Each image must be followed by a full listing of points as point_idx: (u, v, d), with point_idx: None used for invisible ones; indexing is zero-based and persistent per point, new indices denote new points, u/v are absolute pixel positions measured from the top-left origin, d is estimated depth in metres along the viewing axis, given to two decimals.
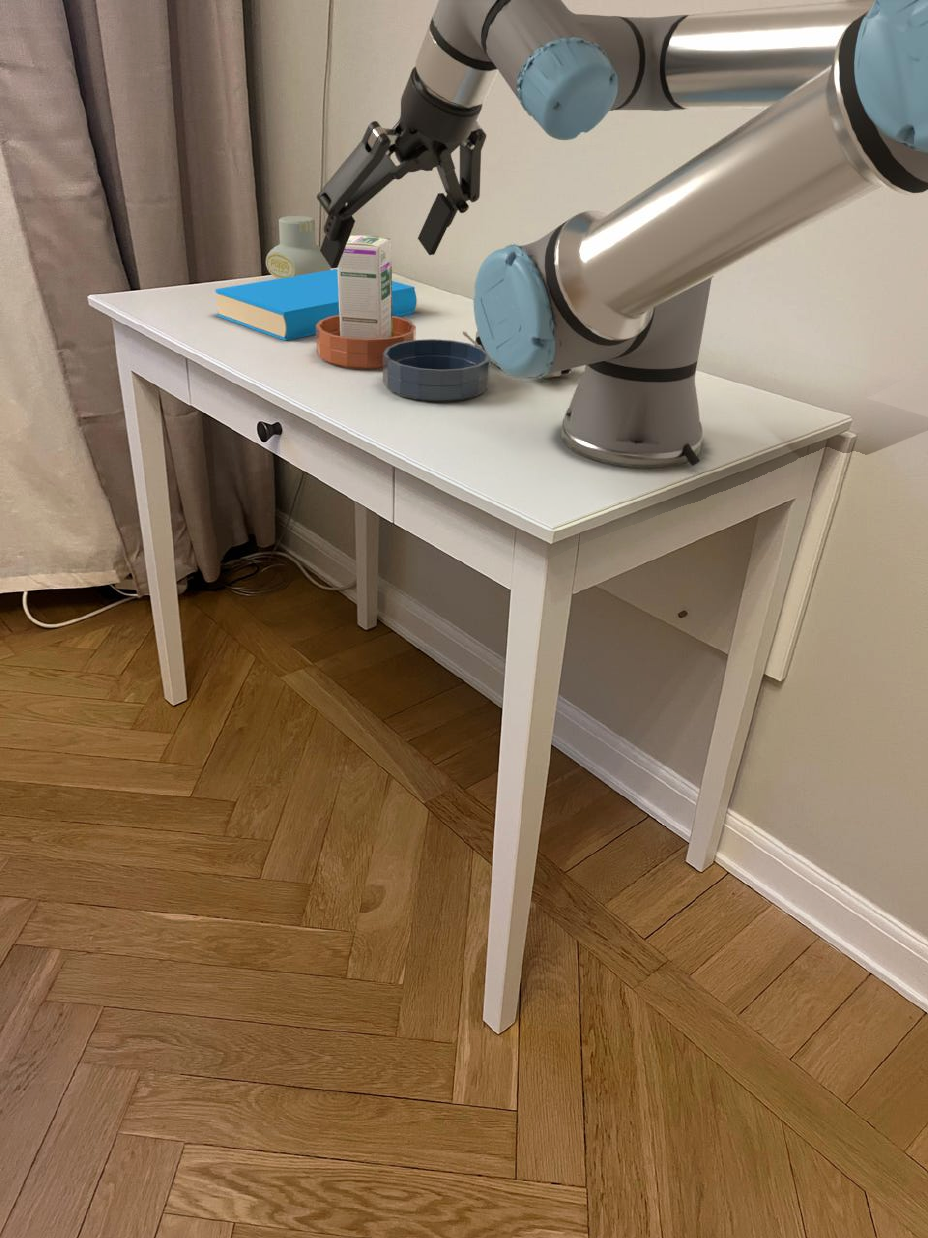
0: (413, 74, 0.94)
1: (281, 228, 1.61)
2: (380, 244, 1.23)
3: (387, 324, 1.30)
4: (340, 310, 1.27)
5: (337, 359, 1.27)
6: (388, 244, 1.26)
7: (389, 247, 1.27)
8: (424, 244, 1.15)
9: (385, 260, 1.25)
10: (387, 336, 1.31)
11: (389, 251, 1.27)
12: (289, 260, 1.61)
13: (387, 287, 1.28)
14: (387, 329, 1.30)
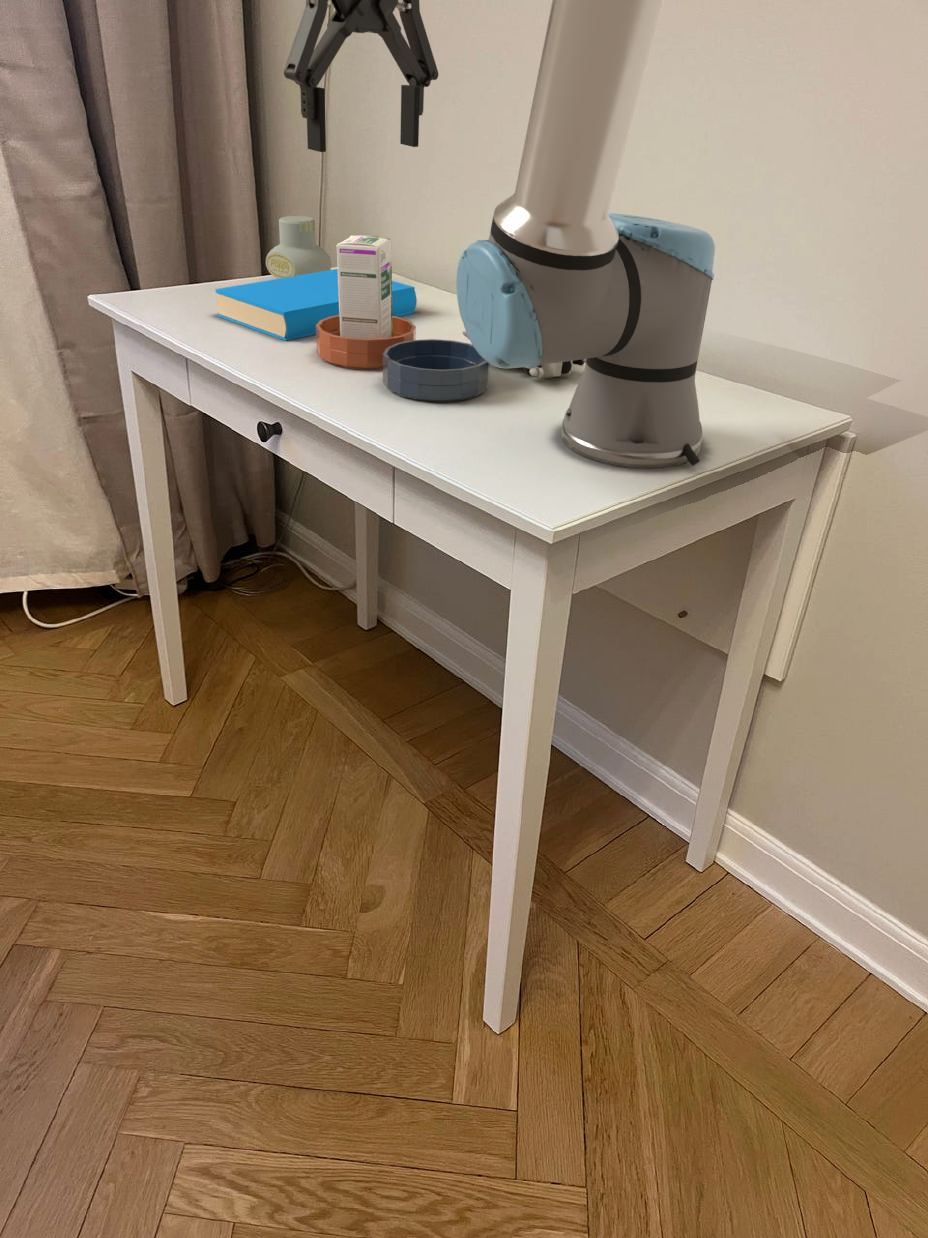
0: None
1: (281, 228, 1.61)
2: (380, 244, 1.23)
3: (387, 324, 1.30)
4: (340, 310, 1.27)
5: (337, 359, 1.27)
6: (388, 244, 1.26)
7: (389, 247, 1.27)
8: (407, 142, 1.22)
9: (385, 260, 1.25)
10: (387, 336, 1.31)
11: (389, 251, 1.27)
12: (289, 260, 1.61)
13: (387, 287, 1.28)
14: (387, 329, 1.30)
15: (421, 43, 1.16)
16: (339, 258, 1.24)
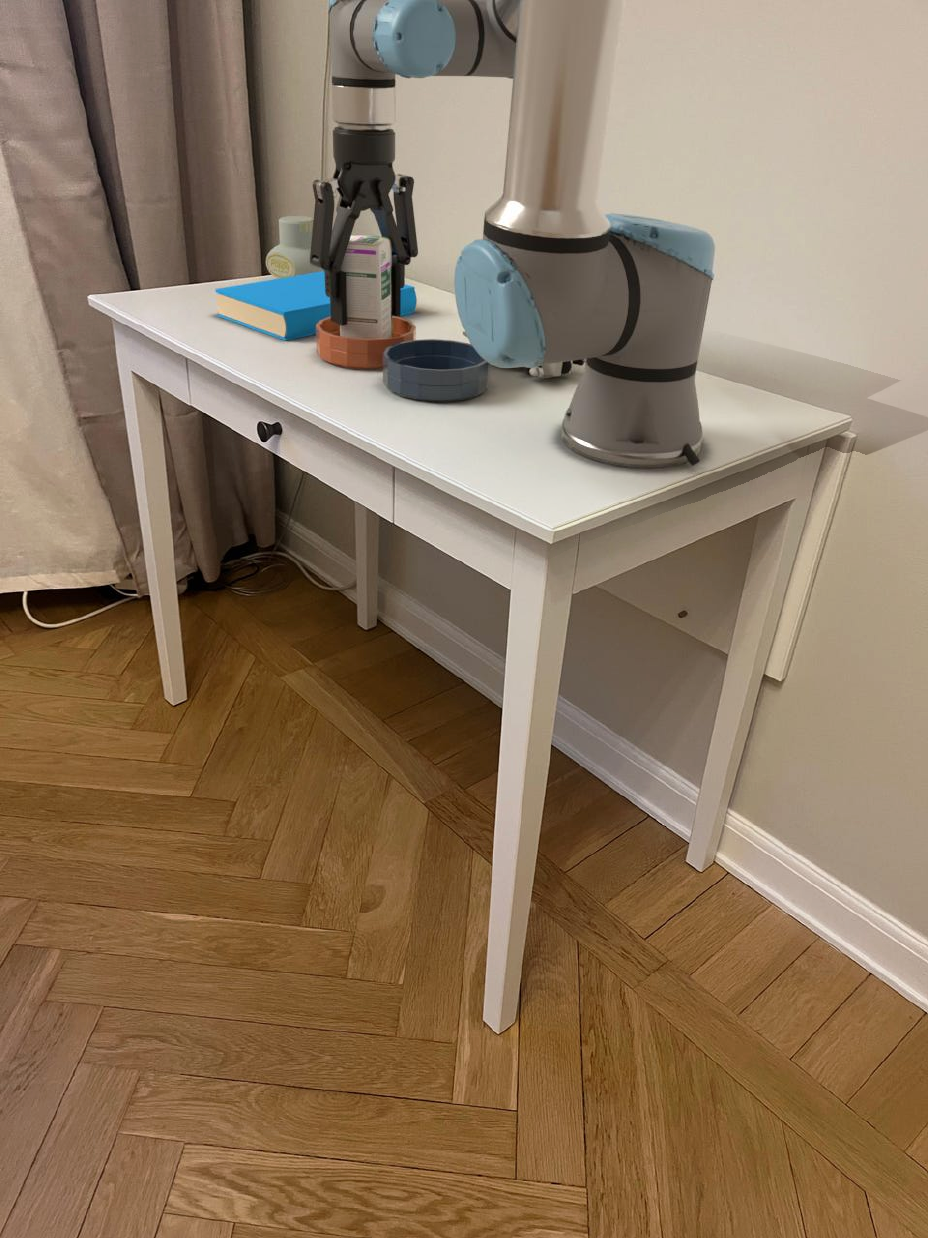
0: (334, 128, 1.18)
1: (281, 228, 1.61)
2: (380, 244, 1.23)
3: (387, 324, 1.30)
4: None
5: (337, 359, 1.27)
6: (389, 244, 1.26)
7: (389, 247, 1.27)
8: None
9: (386, 260, 1.26)
10: (387, 336, 1.31)
11: (389, 251, 1.27)
12: (289, 260, 1.61)
13: (387, 286, 1.28)
14: (387, 329, 1.30)
15: (408, 223, 1.27)
16: None
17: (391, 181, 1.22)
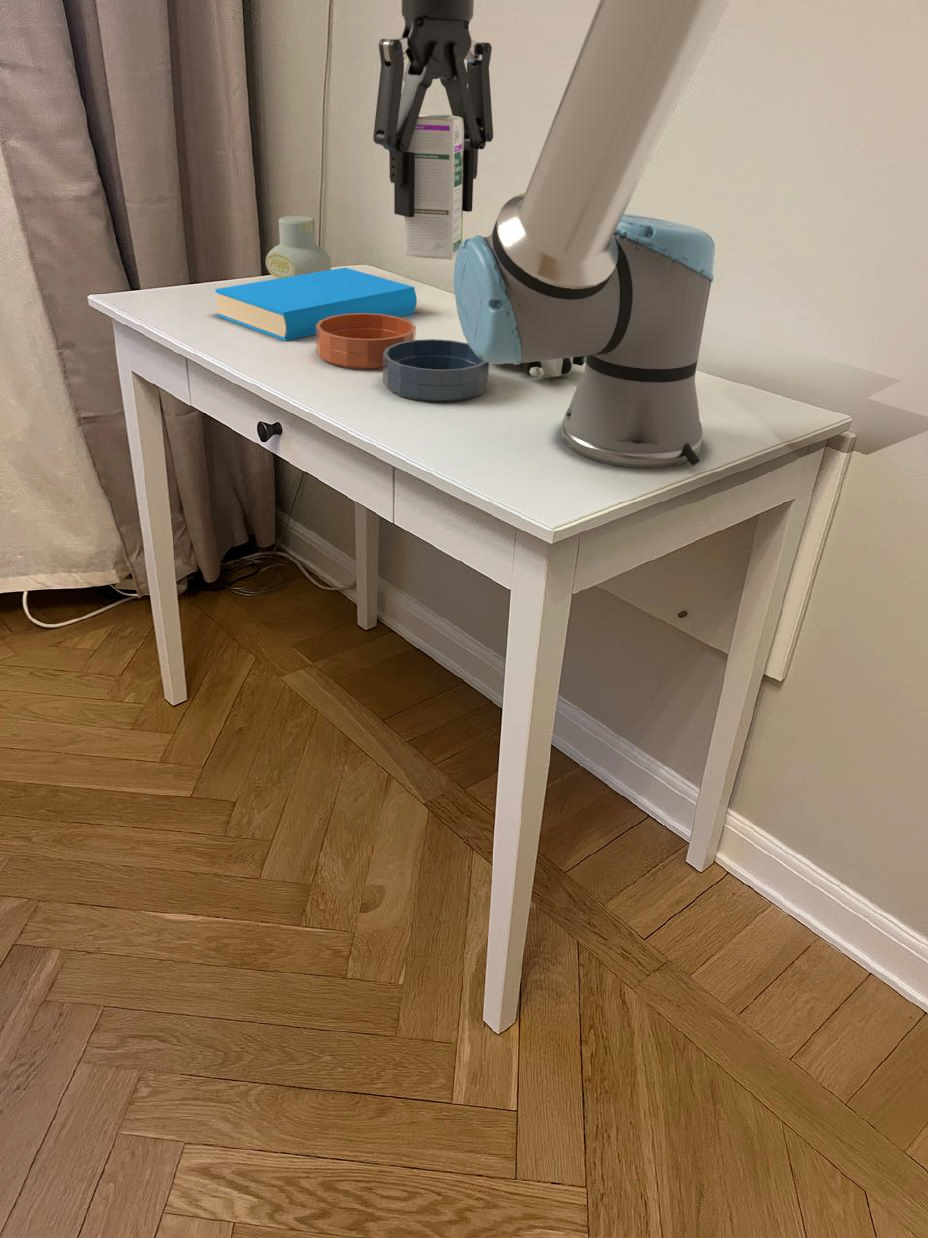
0: None
1: (281, 228, 1.61)
2: (454, 119, 1.07)
3: (458, 219, 1.13)
4: None
5: (337, 359, 1.27)
6: (462, 123, 1.09)
7: (462, 127, 1.10)
8: None
9: (459, 140, 1.09)
10: (458, 233, 1.14)
11: (462, 131, 1.10)
12: (289, 260, 1.61)
13: (460, 173, 1.11)
14: (458, 225, 1.13)
15: (483, 99, 1.10)
16: None
17: (467, 46, 1.06)
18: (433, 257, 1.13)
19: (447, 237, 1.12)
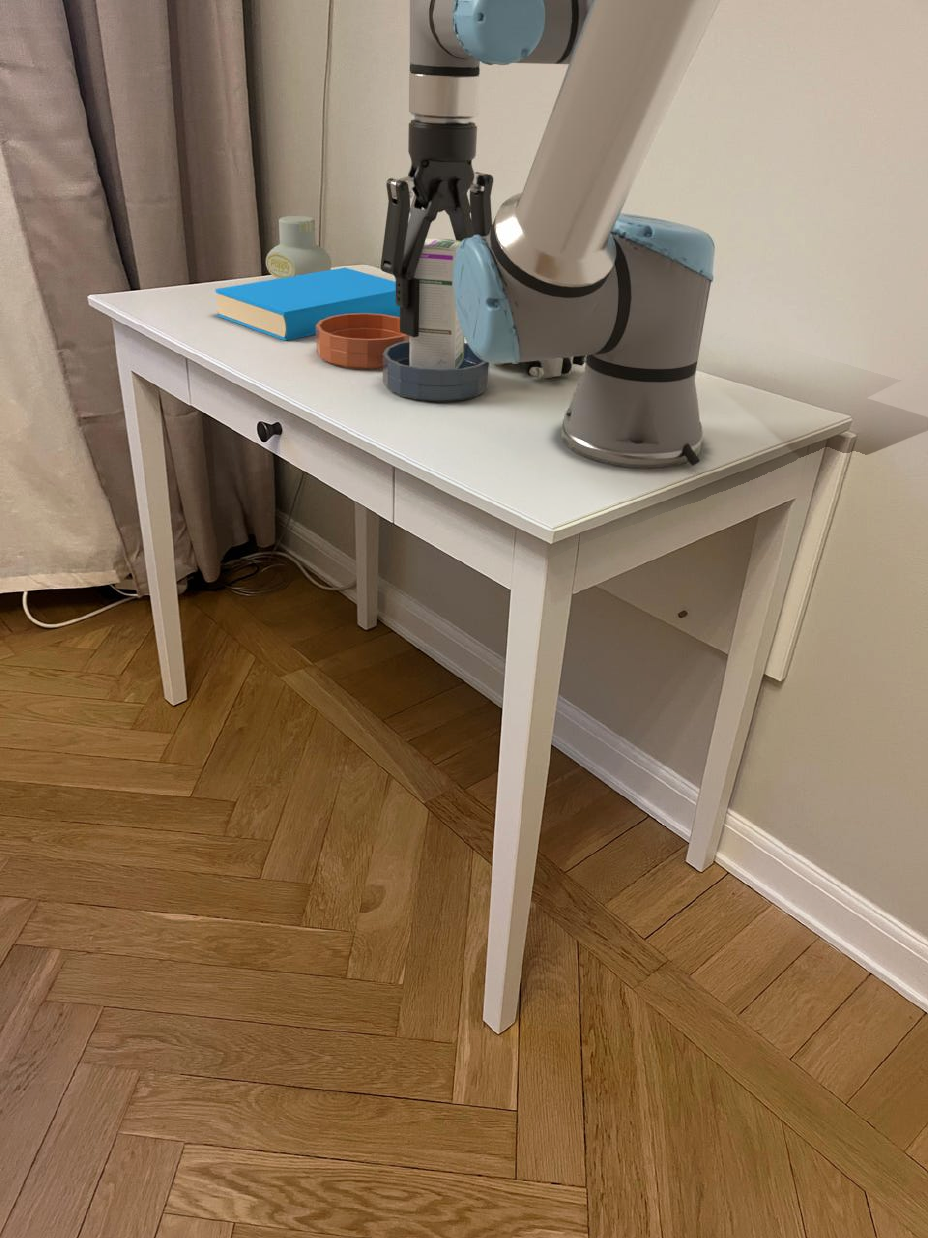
0: None
1: (281, 228, 1.61)
2: None
3: (460, 335, 1.19)
4: None
5: (337, 359, 1.27)
6: None
7: None
8: None
9: None
10: (460, 348, 1.20)
11: None
12: (289, 260, 1.61)
13: None
14: (460, 341, 1.19)
15: (485, 225, 1.16)
16: None
17: (470, 180, 1.12)
18: None
19: (449, 354, 1.18)
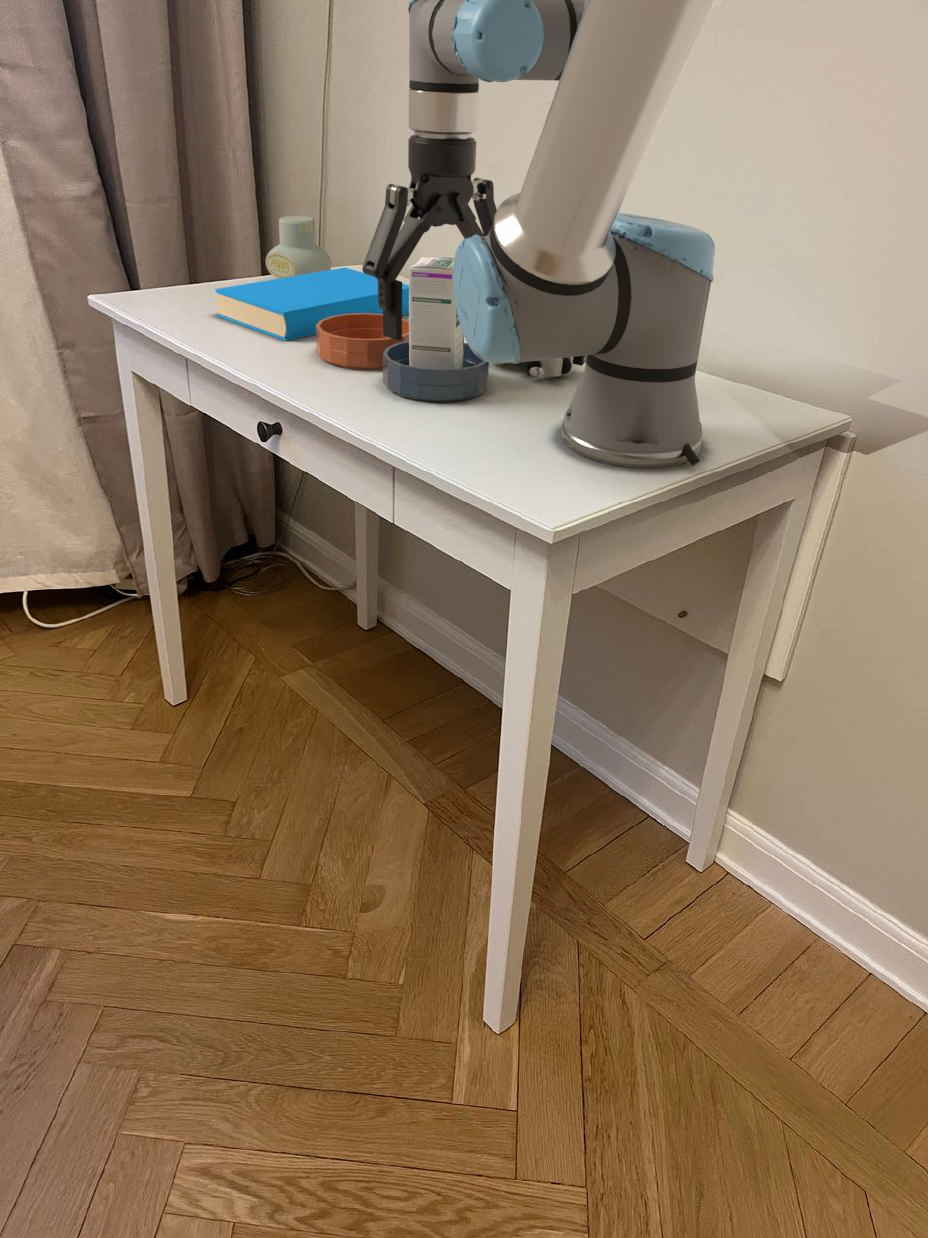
0: (410, 137, 1.08)
1: (281, 228, 1.61)
2: None
3: (459, 352, 1.20)
4: (410, 338, 1.18)
5: (337, 359, 1.27)
6: None
7: None
8: None
9: None
10: (459, 365, 1.21)
11: None
12: (289, 260, 1.61)
13: None
14: (459, 358, 1.21)
15: None
16: (411, 282, 1.14)
17: (470, 193, 1.13)
18: None
19: None
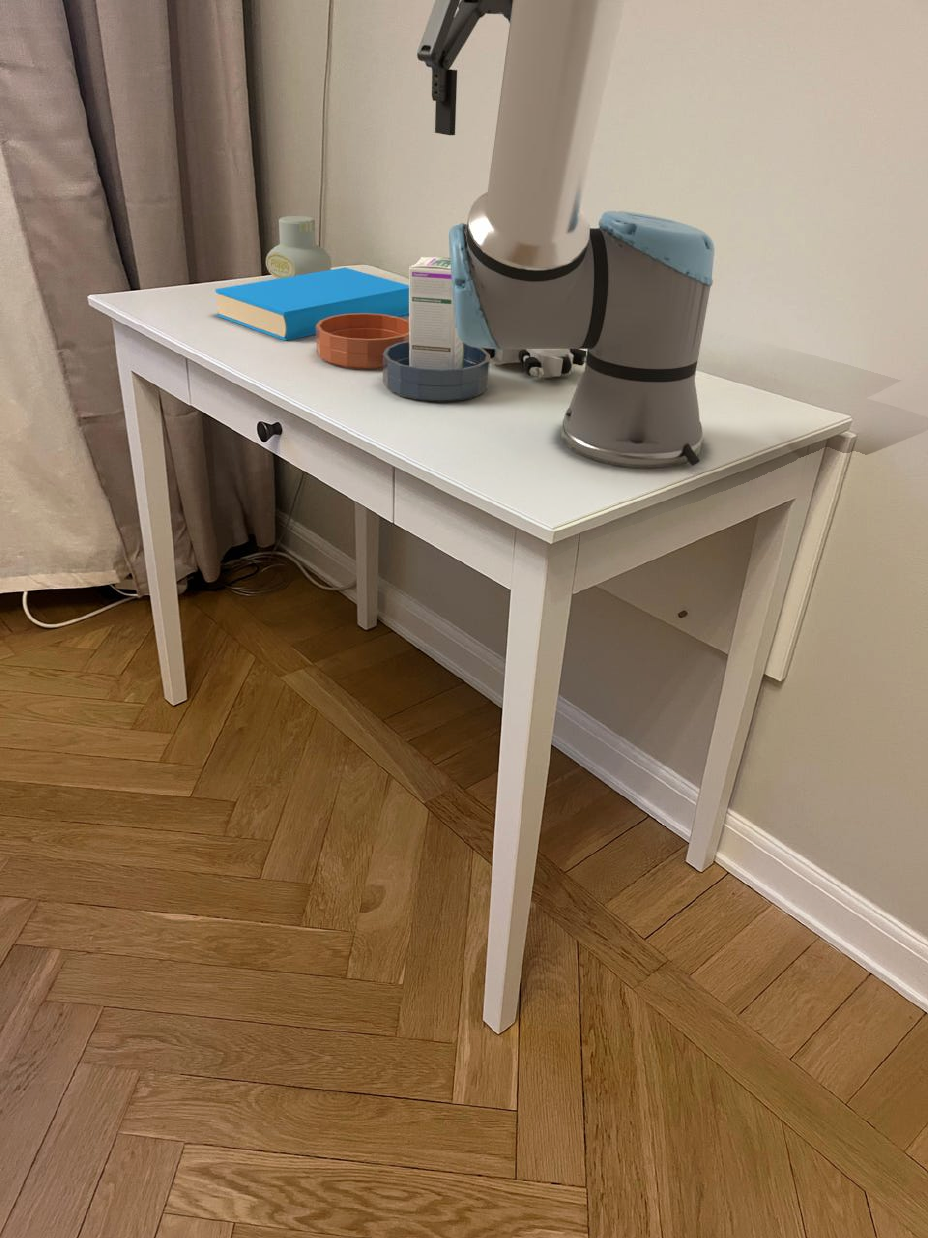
0: None
1: (281, 228, 1.61)
2: None
3: (459, 352, 1.20)
4: (410, 338, 1.18)
5: (337, 359, 1.27)
6: None
7: None
8: None
9: None
10: (459, 365, 1.21)
11: None
12: (289, 260, 1.61)
13: None
14: (459, 358, 1.21)
15: None
16: (411, 282, 1.14)
17: None
18: None
19: None
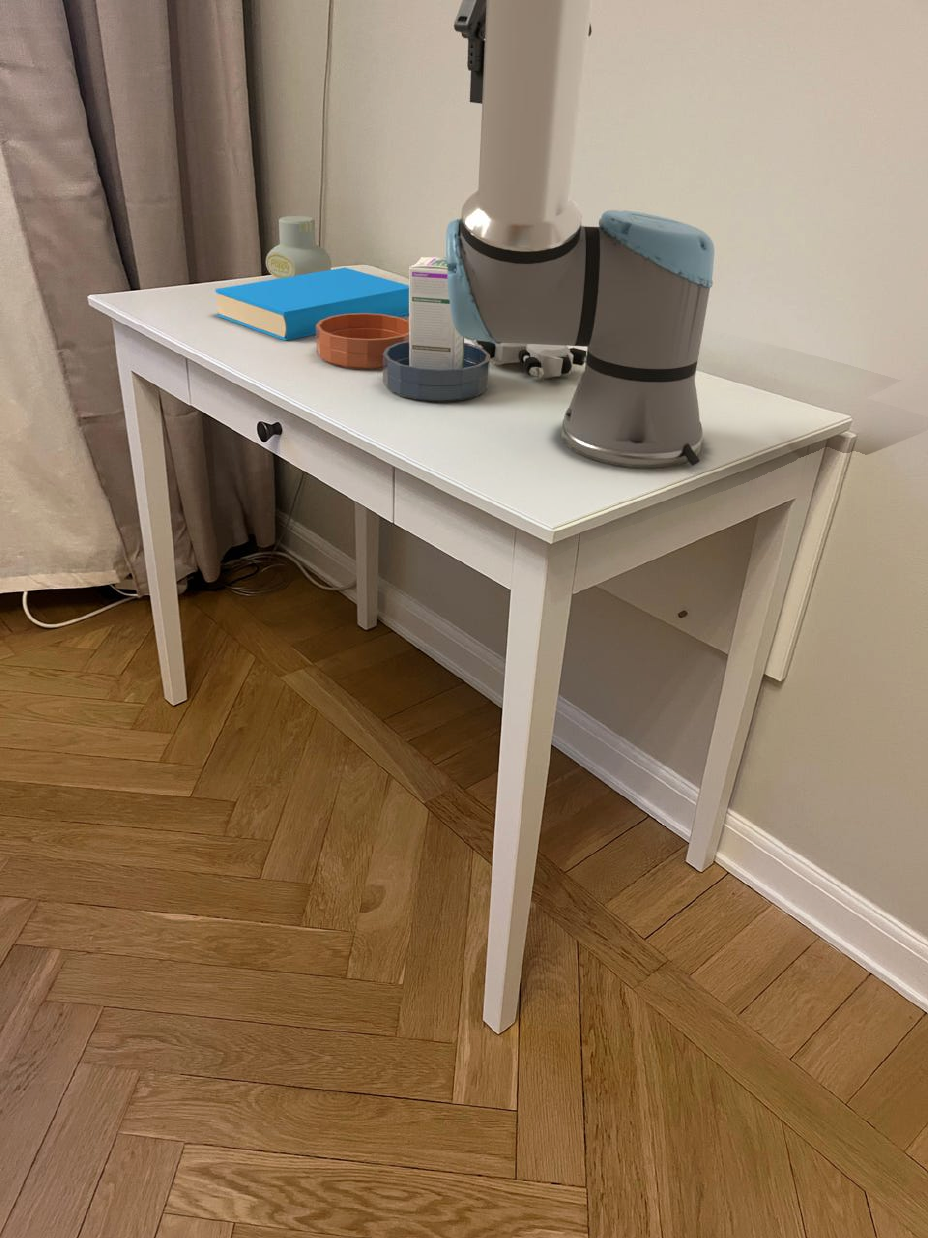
0: None
1: (281, 228, 1.61)
2: None
3: (459, 352, 1.20)
4: (410, 338, 1.18)
5: (337, 359, 1.27)
6: None
7: None
8: None
9: None
10: (459, 365, 1.21)
11: None
12: (289, 260, 1.61)
13: None
14: (459, 358, 1.21)
15: None
16: (411, 282, 1.14)
17: None
18: None
19: None
